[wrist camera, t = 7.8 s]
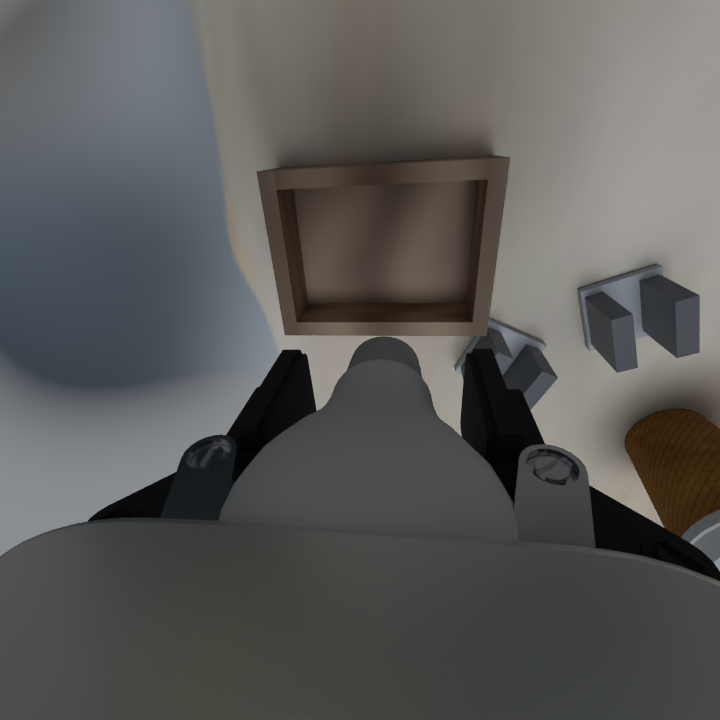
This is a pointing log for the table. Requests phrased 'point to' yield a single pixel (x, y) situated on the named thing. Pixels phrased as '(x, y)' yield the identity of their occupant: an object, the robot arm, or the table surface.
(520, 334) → the clip
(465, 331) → the tray
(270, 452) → the lightbulb
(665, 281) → the clip
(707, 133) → the table surface
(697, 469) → the disposable coffee cup
